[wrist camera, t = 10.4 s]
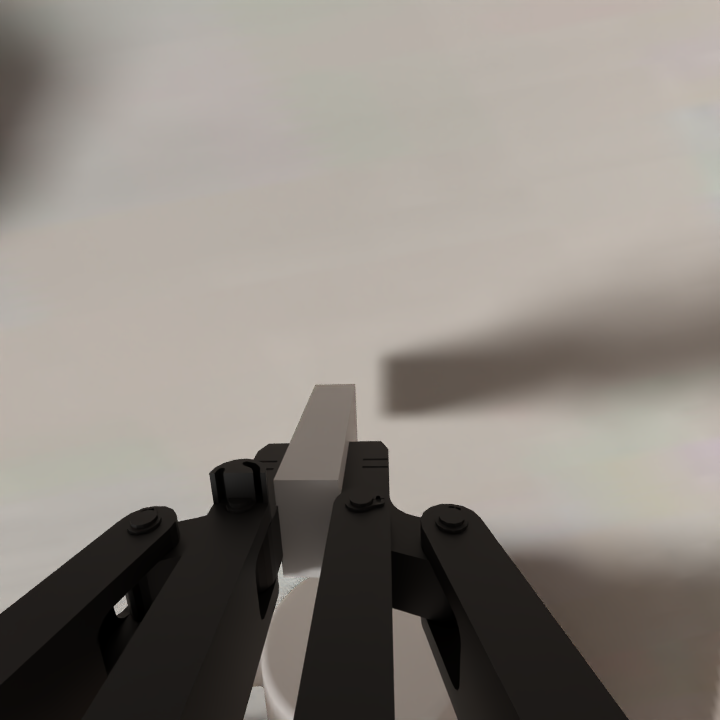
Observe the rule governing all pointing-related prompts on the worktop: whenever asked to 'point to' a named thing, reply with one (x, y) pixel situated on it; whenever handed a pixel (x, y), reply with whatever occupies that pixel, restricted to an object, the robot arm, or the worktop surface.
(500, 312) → the worktop surface
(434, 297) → the worktop surface
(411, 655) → the mug
